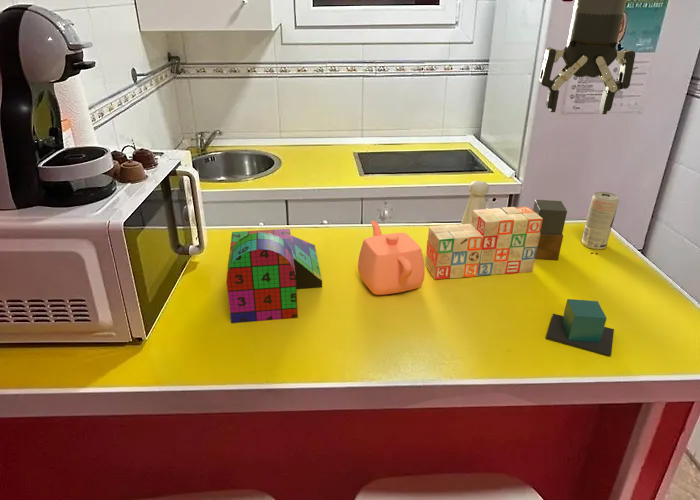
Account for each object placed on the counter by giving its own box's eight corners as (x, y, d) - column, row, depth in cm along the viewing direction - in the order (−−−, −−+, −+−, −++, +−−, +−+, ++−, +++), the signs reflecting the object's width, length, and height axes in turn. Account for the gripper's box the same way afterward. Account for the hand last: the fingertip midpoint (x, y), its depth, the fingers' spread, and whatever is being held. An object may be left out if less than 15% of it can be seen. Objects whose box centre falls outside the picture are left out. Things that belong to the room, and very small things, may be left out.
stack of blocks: (434, 281, 104) (439, 225, 98) (424, 265, 109) (429, 212, 104) (533, 271, 107) (543, 217, 102) (518, 257, 113) (528, 205, 107)
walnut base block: (552, 247, 117) (557, 223, 114) (558, 260, 112) (563, 235, 109) (524, 246, 118) (529, 222, 115) (529, 258, 113) (534, 233, 110)
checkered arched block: (327, 315, 93) (327, 244, 86) (231, 323, 91) (222, 251, 84) (314, 250, 115) (313, 190, 108) (236, 255, 112) (230, 194, 106)
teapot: (378, 310, 94) (380, 260, 90) (346, 264, 110) (346, 219, 105) (435, 299, 98) (440, 250, 93) (396, 256, 113) (398, 212, 108)
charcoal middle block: (556, 224, 114) (561, 200, 112) (562, 234, 109) (567, 210, 107) (530, 222, 115) (534, 199, 112) (535, 233, 110) (539, 209, 107)
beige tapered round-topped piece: (465, 240, 120) (472, 188, 114) (456, 230, 125) (462, 179, 119) (489, 238, 121) (497, 186, 115) (478, 228, 126) (485, 177, 120)
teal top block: (591, 325, 90) (597, 301, 88) (599, 342, 86) (606, 318, 83) (561, 322, 91) (567, 298, 88) (568, 340, 86) (574, 315, 84)
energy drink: (606, 242, 120) (619, 193, 114) (606, 252, 116) (619, 202, 110) (581, 237, 122) (593, 189, 116) (580, 247, 117) (592, 197, 112)
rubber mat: (613, 331, 89) (614, 329, 89) (610, 357, 83) (611, 354, 83) (552, 316, 93) (553, 313, 93) (545, 339, 87) (546, 336, 87)
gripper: (557, 11, 81) (539, 115, 88) (654, 12, 79) (627, 119, 87) (547, 8, 87) (531, 106, 95) (636, 10, 86) (612, 109, 93)
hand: (577, 112), depth 91 cm, fingers open, 8 cm apart
